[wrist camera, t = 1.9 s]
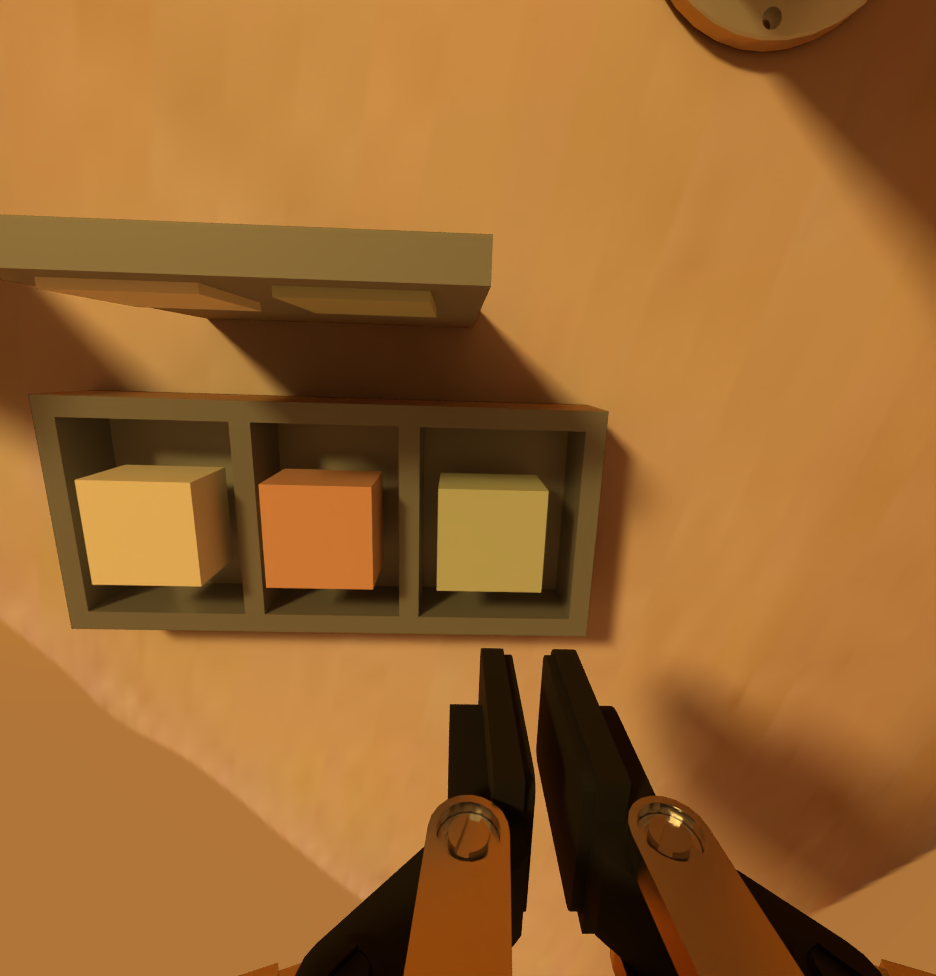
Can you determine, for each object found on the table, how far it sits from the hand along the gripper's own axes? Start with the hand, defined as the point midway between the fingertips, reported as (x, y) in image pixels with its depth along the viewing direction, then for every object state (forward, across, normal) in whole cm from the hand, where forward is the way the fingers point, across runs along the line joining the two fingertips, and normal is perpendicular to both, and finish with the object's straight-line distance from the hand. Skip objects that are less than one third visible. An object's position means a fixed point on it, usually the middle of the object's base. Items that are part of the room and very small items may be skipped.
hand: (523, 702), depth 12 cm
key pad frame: (+17, +8, 0) cm, 19 cm away
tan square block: (+15, +16, 0) cm, 22 cm away
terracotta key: (+15, +8, 0) cm, 17 cm away
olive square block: (+15, 0, 0) cm, 15 cm away
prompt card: (+17, +8, -10) cm, 22 cm away
